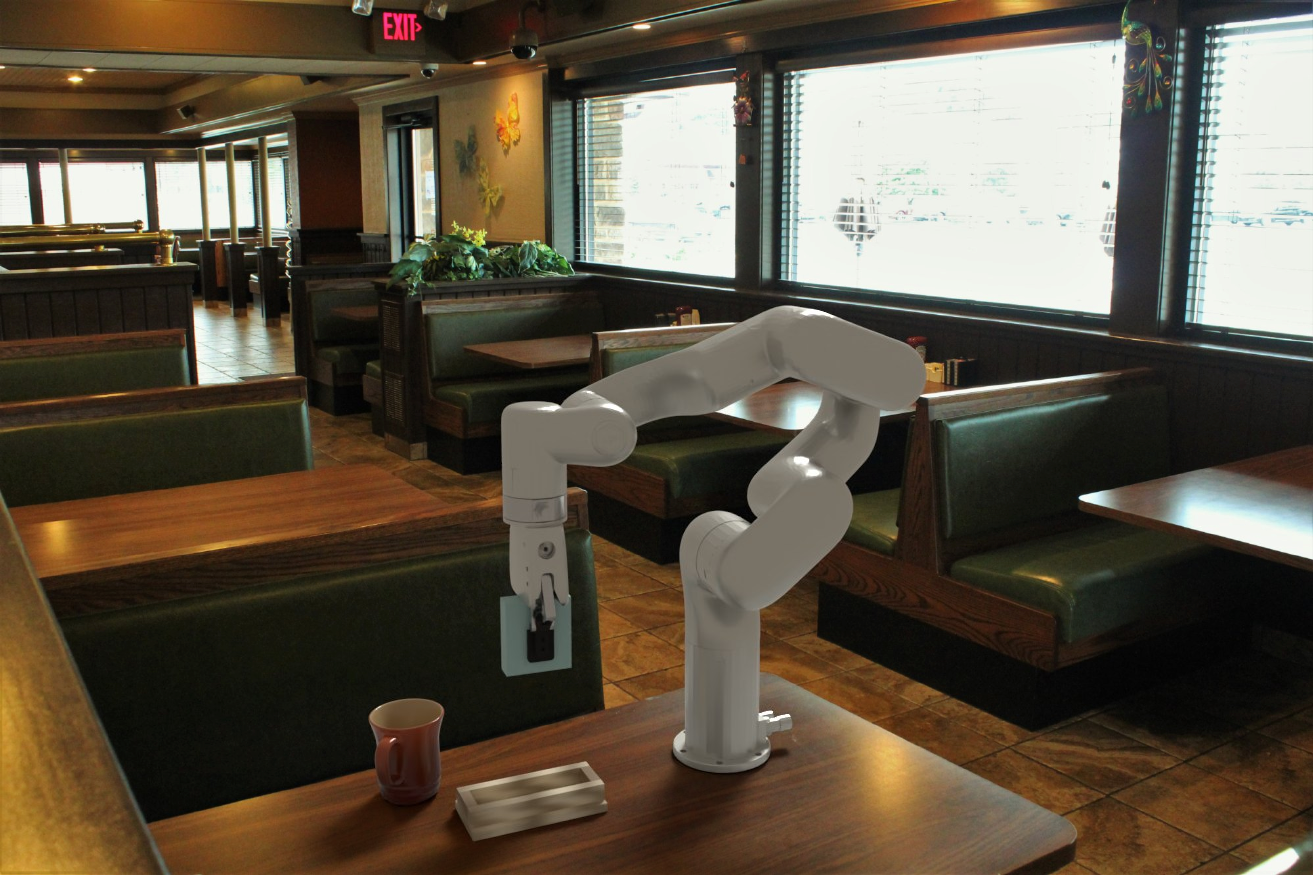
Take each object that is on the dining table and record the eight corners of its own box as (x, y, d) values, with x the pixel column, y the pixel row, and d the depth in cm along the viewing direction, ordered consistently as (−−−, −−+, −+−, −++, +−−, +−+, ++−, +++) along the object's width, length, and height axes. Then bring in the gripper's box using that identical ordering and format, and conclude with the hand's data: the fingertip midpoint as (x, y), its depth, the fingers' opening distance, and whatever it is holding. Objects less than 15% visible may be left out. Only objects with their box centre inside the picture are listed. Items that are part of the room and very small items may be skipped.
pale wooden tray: (583, 780, 139) (583, 758, 139) (607, 810, 132) (607, 787, 131) (455, 808, 133) (454, 784, 132) (473, 841, 126) (472, 816, 125)
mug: (392, 772, 141) (388, 695, 140) (458, 779, 140) (455, 701, 138) (347, 821, 130) (342, 738, 128) (419, 829, 128) (415, 744, 126)
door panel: (565, 660, 139) (564, 589, 138) (571, 667, 137) (570, 596, 135) (501, 668, 136) (500, 597, 135) (506, 676, 134) (505, 603, 132)
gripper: (586, 521, 127) (587, 676, 130) (547, 490, 142) (548, 630, 145) (521, 527, 124) (523, 685, 128) (488, 495, 139) (491, 637, 142)
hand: (537, 654), depth 136 cm, fingers closed on door panel, 2 cm apart
